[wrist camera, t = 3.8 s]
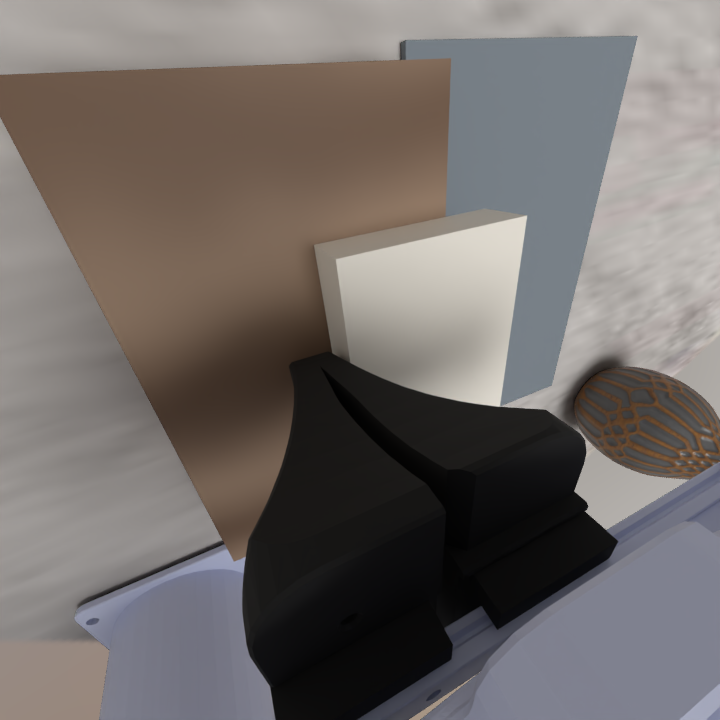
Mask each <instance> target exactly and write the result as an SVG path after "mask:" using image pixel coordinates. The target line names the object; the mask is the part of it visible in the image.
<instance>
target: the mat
mask: <svg viewBox="0 0 720 720" xmlns="http://www.w3.org/2000/svg"><path fill="white" fill-rule="evenodd" d="M636 40H637V36H611V37H556V38H501V39H447V40H405V41H403V42H401V60H417V59H444V58H451V77H450V105H449V133H448V162H447V190H446V217H448V216H452V215H457V214H462V213H467V212H471V211H476V210H481V209H490V210H497V211H503V212H509V213H515V214H521V215H527V221H526V228H525V235H524V242H523V248H522V255H521V262H520V269H519V276H518V283H517V290H516V297H515V304H514V311H513V318H512V325H511V332H510V339H509V346H508V353H507V360H506V367H505V374H504V381H503V388H502V395H501V402H500V406H502V405H504V404H507V403H509V402H512V401H514V400H517V399H519V398H522V397H524V396H527V395H529V394H532V393H534V392H536V391H539V390H541V389H544V388H546V387H549V386H551V385H552V382H553V378H554V374H555V370H556V366H557V362H558V358H559V353H560V349H561V345H562V341H563V337H564V333H565V329H566V325H567V321H568V317H569V313H570V309H571V305H572V301H573V297H574V292H575V288H576V284H577V280H578V276H579V272H580V268H581V264H582V260H583V256H584V252H585V248H586V244H587V240H588V236H589V232H590V227H591V223H592V219H593V215H594V211H595V207H596V203H597V199H598V195H599V191H600V187H601V183H602V179H603V175H604V171H605V166H606V162H607V158H608V154H609V150H610V146H611V142H612V138H613V134H614V130H615V126H616V122H617V118H618V114H619V110H620V105H621V101H622V97H623V93H624V89H625V85H626V81H627V77H628V73H629V69H630V65H631V61H632V57H633V53H634V49H635V44H636Z"/></svg>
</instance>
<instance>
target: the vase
mask: <svg viewBox="0 0 720 720" xmlns="http://www.w3.org/2000/svg"><path fill="white" fill-rule="evenodd" d="M574 411H575V417H576V421H577V424H578V426H579V429H580V430H581V432H582V433H583V435H584V436H585V437H586V439H587V440H588V441H589V442H590V443H591V444H592V445H593V446H594V447H595V448H596V449H597V450H599V451H600V452H601V453H603V454H604V455H605V456H606V457H608V458H610V459H611V460H613V461H614V462H616V463H618V464H620V465H622V466H624V467H626V468H629V469H631V470H634V471H637V472H639V473H642V474H646V475H651V476H658V477H666V478H676V479H689V480H690V479H692V478H693V477H695V476H697V475H698V474H700V473H702V472H703V471H705V470H707V469H708V468H710V467H712V466H713V465H715V464H717V463H718V462H720V420H719V418H718V416H717V414H716V413H715V411H714V409H713V408H712V407H711V405H710V404H709V403H708V402H707V401H706V400H705V399H704V398H703V397H702V396H701V395H699V394H698V393H697V392H696V391H694V390H693V389H692V388H690V387H689V386H687V385H686V384H684V383H682V382H681V381H679V380H677V379H674V378H672V377H670V376H668V375H665V374H662V373H660V372H657V371H653V370H649V369H644V368H638V367H618V368H613V369H608V370H605V371H602V372H599V373H597V374H596V375H594V376H593V377H592V378H590V379H589V380H588V381H587V382H586V383H585V385H584V386H583V387H582V388H581V390H580V391H579V393H578V395H577V397H576V400H575V403H574Z"/></svg>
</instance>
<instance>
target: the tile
mask: <svg viewBox="0 0 720 720" xmlns="http://www.w3.org/2000/svg"><path fill="white" fill-rule="evenodd" d="M526 221H527V215H521V214H515V213H509V212H503V211H497V210H490V209H481V210H476V211H471V212H467V213H462V214H457V215H452V216H448V217H443V218H438V219H433V220H429V221H424V222H419V223H415V224H410V225H405V226H400V227H396V228H391V229H386V230H381V231H377V232H372V233H367V234H363V235H358V236H353V237H348V238H344V239H339V240H334V241H329V242H325V243H320V244H315V245H314V249H315V255H316V260H317V266H318V272H319V278H320V284H321V290H322V295H323V301H324V307H325V313H326V319H327V325H328V331H329V336H330V342H331V348H332V353H333V354H335V355H336V356H338V357H340V358H342V359H344V360H346V361H348V362H350V363H351V364H353V365H355V366H357V367H359V368H361V369H363V370H365V371H367V372H370V373H372V374H374V375H376V376H378V377H381V378H383V379H386V380H388V381H391V382H393V383H396V384H398V385H401V386H404V387H407V388H410V389H413V390H416V391H420V392H423V393H426V394H430V395H434V396H438V397H443V398H447V399H452V400H457V401H462V402H468V403H474V404H481V405H489V406H497V407H500V402H501V395H502V388H503V381H504V374H505V367H506V360H507V353H508V346H509V339H510V332H511V325H512V318H513V311H514V304H515V297H516V290H517V283H518V276H519V269H520V262H521V255H522V248H523V242H524V235H525V228H526Z"/></svg>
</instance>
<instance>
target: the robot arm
mask: <svg viewBox="0 0 720 720" xmlns="http://www.w3.org/2000/svg"><path fill="white" fill-rule="evenodd" d="M289 369H290V373H291V378H292V382H293V386H294V407H293V417H292V424H291V430H290V435H289V440H288V444H287V448H286V452H285V455H284V459H283V462H282V465H281V468H280V471H279V474H278V476H277V479H276V481H275V484H274V486H273V489H272V492H271V494H270V497H269V499H268V501H267V503H266V506H265V508H264V510H263V512H262V514H261V516H260V518H259V519H258V521H257V523H256V525H255V527H254V529H253V531H252V533H251V535H250V537H249V539H248V545H247V551H246V557H244V558H241V559H239V560H237V561H235V562H234V561H233V559H232V557H231V555H230V553H229V551H228V549H227V548H226V546H225V544H224V545H222V546H219V547H217V548H215V549H212V550H210V551H207V552H205V553H203V554H200V555H198V556H196V557H193V558H191V559H189V560H186V561H184V562H182V563H179V564H177V565H175V566H172V567H170V568H168V569H165V570H163V571H161V572H158V573H156V574H154V575H151V576H149V577H147V578H144V579H142V580H140V581H137V582H135V583H133V584H130V585H128V586H125V587H123V588H121V589H118V590H116V591H114V592H111V593H109V594H107V595H104V596H102V597H100V598H97V599H95V600H93V601H90V602H88V603H86V604H84V605H82V606H80V607H79V608H78V609H77V610H76V614H75V618H74V619H75V621H76V622H77V623H78V624H79V625H80V626H82V627H83V628H84V629H85V630H86V631H87V632H89V633H90V634H91V635H92V636H93V637H94V638H96V639H97V640H98V641H99V642H100V643H101V644H103V645H104V646H105V647H106V648H107V649H108V650H110V652H109V658H108V665H107V671H106V678H105V684H104V691H103V697H102V704H101V710H100V717H99V720H409V719H410V718H412V717H413V716H415V715H416V714H418V713H419V712H421V711H422V710H424V709H425V708H427V707H428V706H430V705H431V704H433V703H434V702H436V701H437V700H439V699H440V698H442V697H443V696H445V695H446V694H448V693H449V692H451V691H452V690H454V689H455V688H457V687H458V686H460V685H461V684H463V683H464V682H465V681H467V680H469V679H470V678H471V677H473V676H474V675H476V674H477V675H476V676H475V677H473V678H472V679H471V680H470V681H468V682H467V683H466V684H464V685H463V686H462V687H461V688H459V689H458V690H457V691H455V692H454V693H453V694H452V695H450V696H449V697H448V698H447V699H445V700H444V701H443V702H442V703H440V704H439V705H438V706H437V707H436V708H434V709H433V710H432V711H431V712H429V713H428V714H427V715H426V716H424V717H423V718H422V719H421V720H720V462H718V463H717V464H715V465H713V466H712V467H710V468H708V469H707V470H705V471H703V472H702V473H700V474H698V475H697V476H695V477H693V478H692V479H690V480H688V481H687V482H685V483H683V484H682V485H680V486H679V487H677V488H675V489H674V490H672V491H670V492H669V493H667V494H665V495H664V496H662V497H660V498H659V499H657V500H656V501H654V502H652V503H650V504H649V505H647V506H645V507H644V508H642V509H640V510H639V511H637V512H635V513H634V514H632V515H631V516H629V517H627V518H626V519H624V520H622V521H621V522H619V523H617V524H616V525H614V526H612V527H611V528H609V529H607V530H605V529H604V528H603V527H602V526H601V525H600V524H598V523H597V522H596V521H595V520H594V519H593V518H592V517H590V516H589V515H588V514H587V513H586V512H585V511H586V510H587V508H588V505H587V502H586V501H585V500H583V499H582V498H581V497H580V496H579V495H578V494H576V493H575V492H574V490H575V487H576V484H577V481H578V479H579V476H580V473H581V470H582V468H583V465H584V461H585V457H586V445H585V440H584V438H583V437H582V435H581V434H580V433H578V432H577V431H576V430H574V429H573V428H571V427H570V426H568V425H567V424H565V423H564V422H563V421H561V420H560V419H558V418H557V417H555V416H554V415H553V414H551V413H550V412H548V411H547V410H540V409H524V408H508V407H497V406H489V405H481V404H474V403H468V402H462V401H457V400H452V399H447V398H443V397H438V396H434V395H430V394H426V393H423V392H420V391H416V390H413V389H410V388H407V387H404V386H401V385H398V384H396V383H393V382H391V381H388V380H386V379H383V378H381V377H378V376H376V375H374V374H372V373H370V372H367V371H365V370H363V369H361V368H359V367H357V366H355V365H353V364H351V363H350V362H348V361H346V360H344V359H342V358H340V357H338V356H336V355H335V354H333V353H331V352H329V351H328V352H324V353H321V354H317V355H314V356H311V357H307V358H304V359H301V360H297V361H294V362H291V364H290V365H289ZM479 672H480V673H479ZM478 673H479V674H478Z"/></svg>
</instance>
